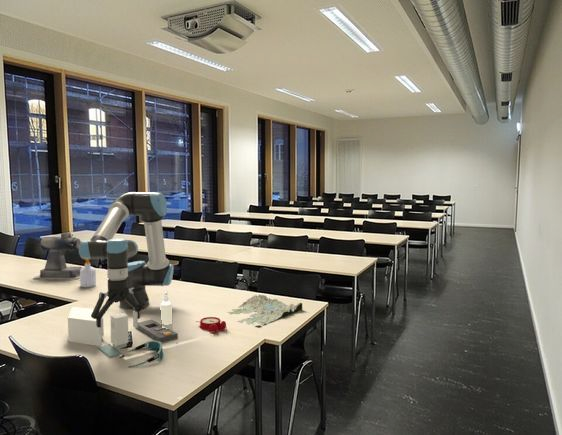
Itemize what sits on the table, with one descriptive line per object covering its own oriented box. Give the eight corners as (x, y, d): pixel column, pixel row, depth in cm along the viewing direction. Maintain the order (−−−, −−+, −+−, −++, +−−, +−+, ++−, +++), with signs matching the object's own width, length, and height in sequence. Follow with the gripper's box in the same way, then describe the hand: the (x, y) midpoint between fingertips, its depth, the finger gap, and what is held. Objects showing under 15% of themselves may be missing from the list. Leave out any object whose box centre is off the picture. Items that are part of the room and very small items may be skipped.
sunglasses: (169, 359, 158) (167, 347, 157) (130, 375, 149) (128, 362, 148) (156, 347, 169) (154, 336, 168) (118, 361, 160) (116, 349, 159)
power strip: (129, 326, 193) (129, 318, 193) (146, 322, 198) (146, 314, 198) (160, 345, 171) (159, 336, 171) (177, 340, 176) (177, 331, 176)
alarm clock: (210, 315, 199) (231, 315, 190) (212, 328, 199) (233, 328, 189) (192, 320, 192) (213, 320, 182) (194, 334, 191) (215, 335, 181)
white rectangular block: (82, 351, 164) (81, 326, 163) (56, 332, 184) (55, 310, 183) (118, 341, 175) (117, 317, 174) (89, 325, 195) (89, 303, 194)
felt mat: (98, 348, 167) (98, 346, 167) (127, 340, 175) (127, 339, 175) (109, 357, 158) (109, 356, 158) (140, 349, 166) (140, 347, 166)
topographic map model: (258, 329, 193) (258, 318, 193) (214, 316, 211) (214, 306, 211) (302, 311, 222) (302, 301, 221) (260, 301, 239) (260, 292, 239)
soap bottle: (98, 285, 269) (98, 247, 267) (85, 288, 261) (84, 249, 259) (90, 283, 273) (89, 246, 271) (77, 286, 266) (76, 247, 264)
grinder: (46, 273, 301) (44, 231, 299) (89, 273, 302) (88, 231, 299) (31, 279, 283) (30, 234, 280) (78, 279, 284) (77, 234, 281)
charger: (110, 347, 167) (110, 315, 166) (123, 343, 170) (122, 312, 169) (115, 350, 163) (114, 318, 162) (128, 347, 167) (127, 315, 166)
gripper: (87, 285, 153) (89, 341, 155) (152, 275, 170) (152, 326, 172) (81, 281, 159) (82, 335, 160) (144, 272, 176) (144, 321, 177)
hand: (118, 330), depth 166 cm, fingers open, 13 cm apart
